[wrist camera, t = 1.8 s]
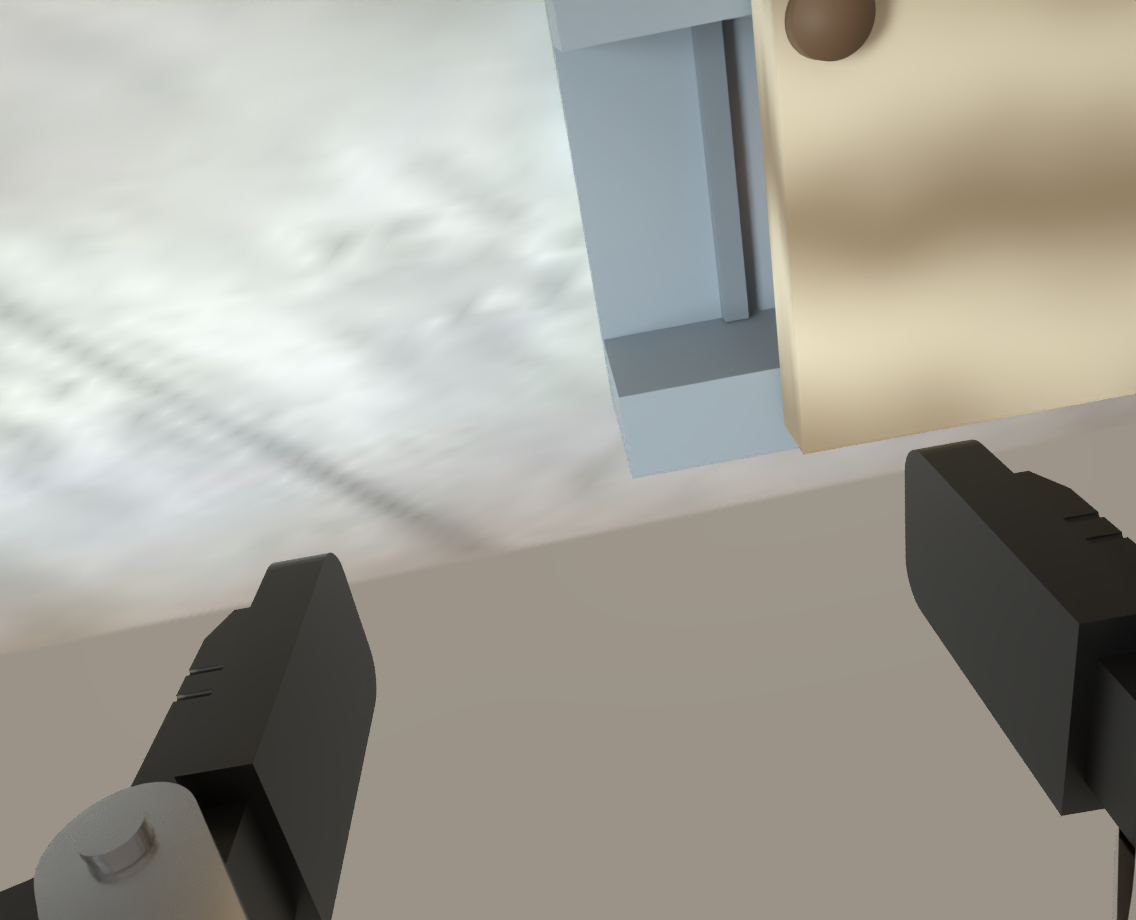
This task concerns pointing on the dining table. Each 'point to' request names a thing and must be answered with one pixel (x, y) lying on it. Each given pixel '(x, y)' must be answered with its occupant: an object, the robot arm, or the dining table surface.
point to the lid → (947, 209)
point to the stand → (675, 223)
